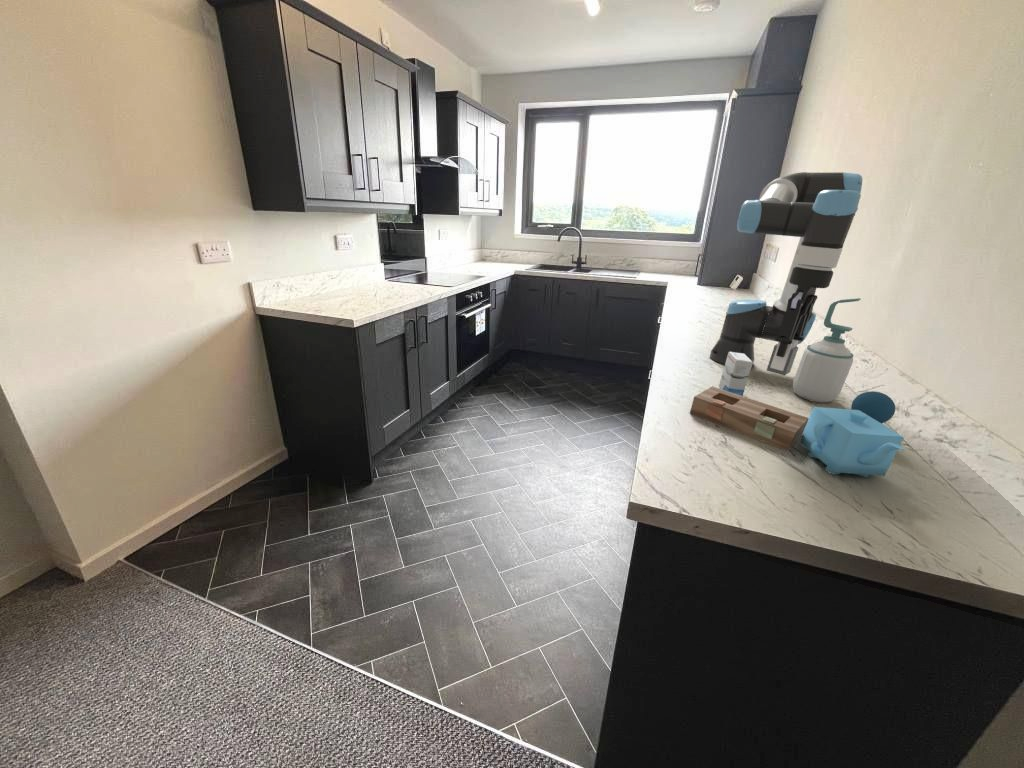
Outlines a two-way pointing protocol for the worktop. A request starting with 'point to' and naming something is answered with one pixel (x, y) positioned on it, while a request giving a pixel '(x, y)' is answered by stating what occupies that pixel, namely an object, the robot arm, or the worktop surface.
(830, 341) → the soap bottle
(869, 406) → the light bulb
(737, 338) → the robot arm
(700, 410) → the socket block
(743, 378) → the ink box
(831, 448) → the teapot
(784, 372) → the plug
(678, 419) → the worktop surface
